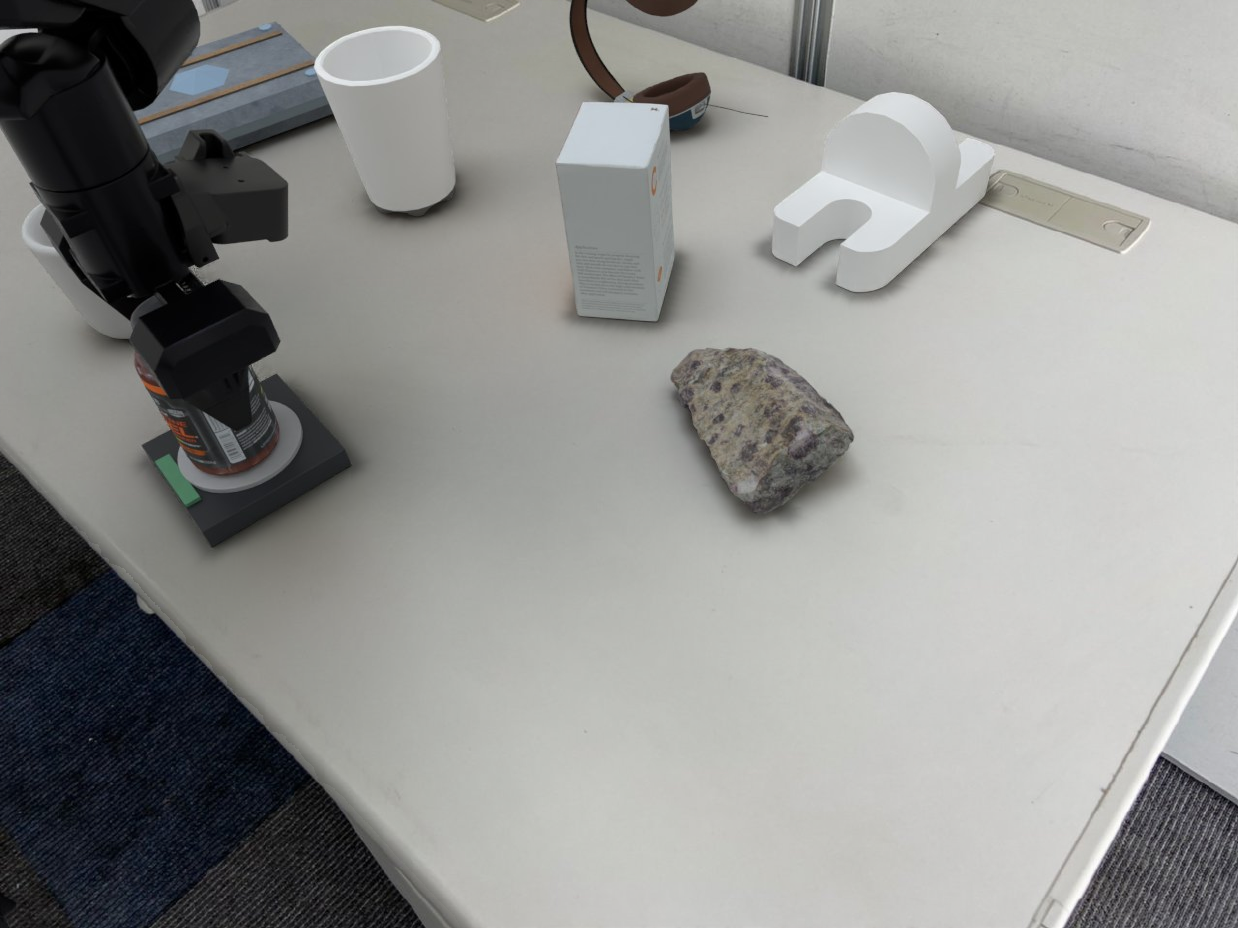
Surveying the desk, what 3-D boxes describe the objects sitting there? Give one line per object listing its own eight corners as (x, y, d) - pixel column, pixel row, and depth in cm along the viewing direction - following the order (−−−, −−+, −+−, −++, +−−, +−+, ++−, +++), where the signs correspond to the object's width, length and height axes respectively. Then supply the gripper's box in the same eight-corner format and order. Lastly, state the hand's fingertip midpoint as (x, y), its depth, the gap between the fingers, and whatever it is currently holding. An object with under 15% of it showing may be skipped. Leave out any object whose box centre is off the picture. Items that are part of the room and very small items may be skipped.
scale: (211, 548, 60) (199, 528, 59) (151, 460, 66) (138, 440, 64) (352, 465, 64) (343, 444, 63) (283, 389, 70) (274, 368, 68)
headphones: (791, 134, 86) (610, 88, 98) (786, -50, 75) (584, -76, 87) (748, 166, 83) (567, 115, 95) (736, -20, 72) (534, -51, 84)
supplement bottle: (172, 455, 63) (88, 320, 55) (244, 401, 66) (176, 265, 58) (228, 494, 61) (150, 359, 52) (302, 436, 64) (239, 299, 55)
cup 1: (64, 286, 80) (1, 186, 73) (176, 244, 83) (126, 143, 76) (98, 371, 73) (32, 268, 66) (220, 321, 75) (169, 217, 68)
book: (135, 196, 89) (110, 146, 85) (91, 125, 98) (66, 77, 94) (347, 117, 96) (332, 68, 92) (287, 58, 105) (271, 11, 101)
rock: (768, 539, 58) (886, 441, 60) (745, 471, 54) (872, 370, 56) (643, 451, 67) (750, 369, 70) (616, 389, 63) (729, 305, 66)
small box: (597, 252, 78) (581, 99, 68) (676, 257, 77) (671, 102, 67) (574, 317, 73) (553, 162, 63) (658, 324, 72) (649, 166, 62)
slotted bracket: (870, 299, 72) (887, 182, 64) (764, 252, 76) (770, 138, 69) (992, 188, 80) (1020, 73, 72) (890, 152, 85) (907, 40, 77)
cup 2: (363, 238, 82) (317, 95, 72) (353, 178, 88) (309, 39, 78) (479, 213, 83) (449, 69, 73) (461, 155, 89) (431, 16, 80)
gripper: (322, 167, 46) (401, 400, 58) (170, 45, 57) (263, 264, 68) (95, 270, 42) (229, 499, 54) (-26, 118, 52) (109, 338, 64)
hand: (211, 387), depth 60 cm, fingers open, 9 cm apart
